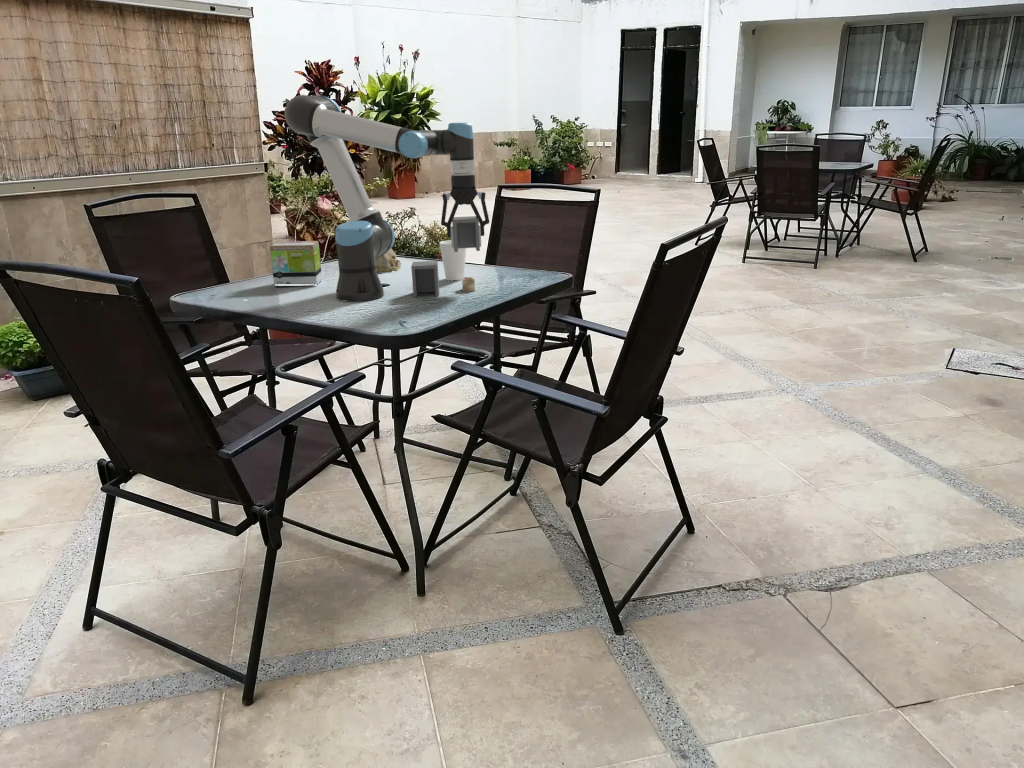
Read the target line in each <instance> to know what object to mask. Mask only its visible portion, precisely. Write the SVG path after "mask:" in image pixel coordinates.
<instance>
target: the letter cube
mask: <svg viewBox="0 0 1024 768" xmlns="http://www.w3.org/2000/svg"><path fill="white" fill-rule="evenodd" d="M461 283H462V284H461V286H462V292H463V291H466V292H476V283H475V276H464V277H462V280H461Z"/></svg>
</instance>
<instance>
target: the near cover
mask: <svg viewBox="0 0 1024 768" xmlns="http://www.w3.org/2000/svg"><path fill="white" fill-rule="evenodd" d="M438 265H439V261H438V260H428V261H427V260H426V261H412V262H411V268H410V269H411V280H412V293H413V298H418V295H417V294H418V292H422V293H434V294H435V297H440V281H439V280H440V279H439V266H438Z"/></svg>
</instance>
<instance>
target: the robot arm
mask: <svg viewBox="0 0 1024 768" xmlns="http://www.w3.org/2000/svg"><path fill="white" fill-rule="evenodd" d="M284 118H285V121H286V123H287V125H288V127H289V128H290V129H291V130H292V131H294V132H295V133H296V134H299V135H306V137H307V139H308V141H309V143H310V146H313V147H315V148H316V149H318V152H319V155H320V157H321V158H322V159H321V160H322V161H323V163H324V165H325V167H326V171H327V172H328V174H329V177H330V179H331V181H332V183H333V186H334V188H335V189H336V192H337V194H338V196H339V199H340V200H341V201H340V202H341V203H342V206H343V208H344V210H345V212H346V215H347V216H348V220H347V222H344V223H341V224H339V225H337V227H336V228H335V232H334V234H335V236H334V240H335V244H336V252H337V253H336V255H337V262H338V264H337V265H338V273H339V274H338V280H337V285H336V289H335V298H336V299H337V300H338V299H340V300H339V301H341V300H345V301H344V302H364V301H363V300H367V301H372V299H373V300H377V299H379V298H383V297H384V295H385V293H384V287H383V285H382V282H381V280H380V278H379V275H378V273H377V272H376V263H375V258H376V257H379V256H382V255H384V254H385V253H387V252H388V251H389V250H390V249H391V248H392V249H393V246H394V244H395V240H396V239H395V236H396V235H395V230H394V229H393V227H392V225H391V224H390V222H388V221H386V220H385V219H384V218H383V216H382V213H381V211H380V210H378V209H377V208H374V206H373V204H372V201H371V200H370V198H369V195H368V193H367V190H366V189H365V187H364V184H363V182H362V180H361V178H360V176H359V173H358V171H357V169H356V166H355V163H354V162H353V160H352V157H351V155H350V153H349V150H348V148H347V146H346V143H345V141H348V142H351V143H356V144H360V145H365V146H369V147H373V148H377V149H380V150H385V151H389V152H393V153H397V154H400V155H403V156H404V157H406V158H410V159H419V158H424V157H430V156H448V155H449V163H450V165H449V166H450V173H451V174H452V175H451V176H450V180H451V181H450V183H451V186H450V187H451V190H450V192H447V193H442V195H441V196H442V201H443V203H442V204H443V205H442V211H441V212H442V213H441V219H440V220H441V221H440V225H441V226H442V227H446V235H447V238H450V240H451V247H452V248H454V239H453V226H451V225H452V221H453V218H454V217H455V214H456V212H457V211H458V210H457V209H458V207H459V205H460V206H463V205H466V206H467V205H470V206H471V209H472V211H473V213H474V216H476V217H477V218H478V219H479V242H480V248H482V237H484V236H485V226H486V225H489V224H490V219H489V214H488V213H489V212H488V208H487V205H486V193H485V191H477V188H476V176H475V174H474V173H475V172H476V171H475V169H476V167H475V153H474V152H475V151H474V148H475V147H474V139H475V138H474V132H473V125H472V124H471V123H470V122H449V123H448V125H447V126H448V128H447V129H428V130H427V129H420V130H415V129H410V128H406V127H403V126H402V127H401V126H397V125H392V124H389V123H385V122H383V121H382V122H380V121H377V120H373V119H369V118H365V117H361V116H357V115H353V114H352V115H351V114H348V113H345V112H342V111H341V108H340V106H339V105H338V103H337V102H336V101H335V100H333V99H332V98H331V97H330V98H329V97H328V96H325V95H319V94H318V95H317V94H316V95H315V94H314V95H306V94H304V95H303V94H302V95H301V94H300V95H296V96H294V97H293V98H291V99H289V100H288V103H286V105H285V108H284ZM477 196H478V199H479V200H480V203H481V206H482V211H483V215H484V216H483V217H484V220H483V219H482V217H481V215H480V213H479V210H478V208H477V206H476V204H475V202H474V200H475V198H476V197H477ZM450 197H452V199H453V200H454V204H453V206H452V209H451V212H450V215H449V217H448V220H447V221H446V217H447V208H448V201H449V200H450ZM346 300H347V301H346Z"/></svg>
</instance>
